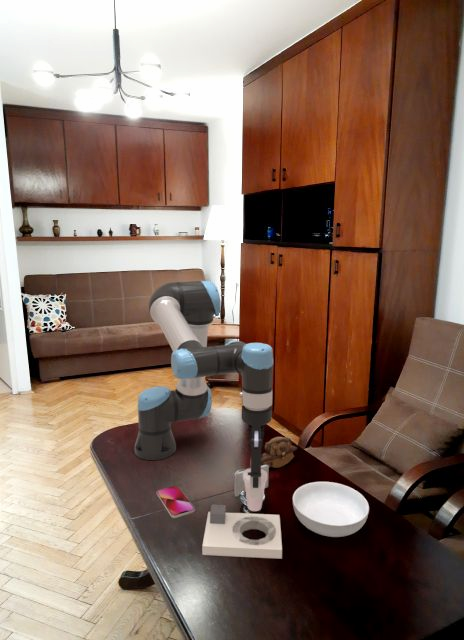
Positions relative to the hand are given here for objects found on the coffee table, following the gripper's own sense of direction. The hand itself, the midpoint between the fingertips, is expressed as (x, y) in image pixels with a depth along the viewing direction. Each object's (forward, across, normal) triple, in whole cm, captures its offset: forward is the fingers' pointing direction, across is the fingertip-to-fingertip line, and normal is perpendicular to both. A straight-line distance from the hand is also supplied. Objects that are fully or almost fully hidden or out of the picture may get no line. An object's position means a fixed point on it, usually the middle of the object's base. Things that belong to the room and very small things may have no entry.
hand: (255, 489), depth 116 cm
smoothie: (+6, 0, 0) cm, 6 cm away
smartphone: (+15, -15, -24) cm, 32 cm away
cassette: (+15, -22, -1) cm, 27 cm away
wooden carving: (+15, -38, +8) cm, 42 cm away
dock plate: (+15, 0, -3) cm, 15 cm away
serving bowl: (+15, -8, +21) cm, 27 cm away
